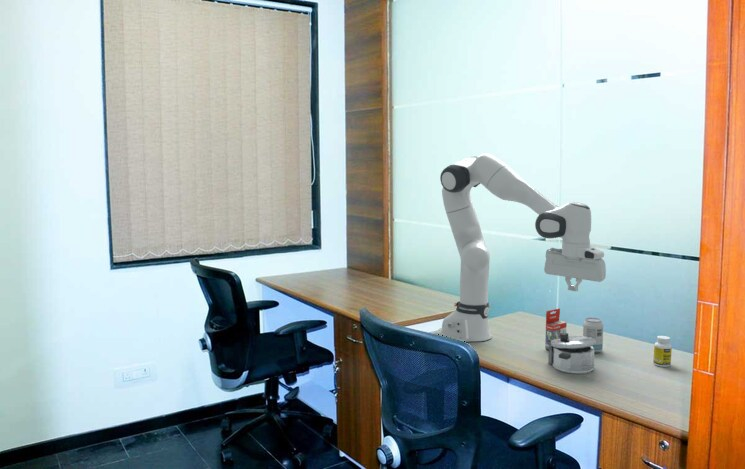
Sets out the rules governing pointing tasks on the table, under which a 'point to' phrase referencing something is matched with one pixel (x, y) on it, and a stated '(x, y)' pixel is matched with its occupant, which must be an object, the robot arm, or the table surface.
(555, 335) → the ink box
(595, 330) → the beverage can
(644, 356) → the table surface
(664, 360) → the supplement bottle
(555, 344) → the lid
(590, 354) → the pot
